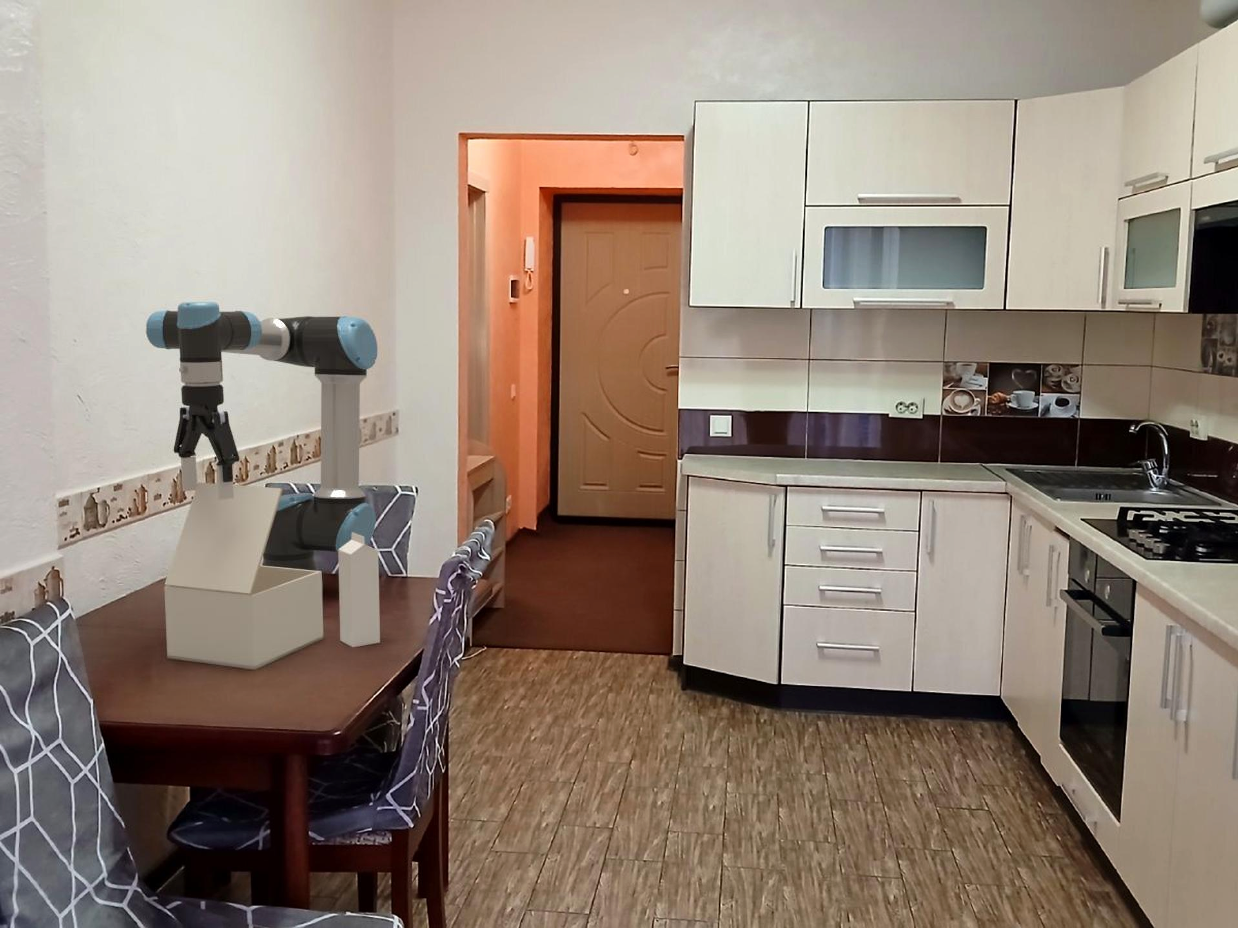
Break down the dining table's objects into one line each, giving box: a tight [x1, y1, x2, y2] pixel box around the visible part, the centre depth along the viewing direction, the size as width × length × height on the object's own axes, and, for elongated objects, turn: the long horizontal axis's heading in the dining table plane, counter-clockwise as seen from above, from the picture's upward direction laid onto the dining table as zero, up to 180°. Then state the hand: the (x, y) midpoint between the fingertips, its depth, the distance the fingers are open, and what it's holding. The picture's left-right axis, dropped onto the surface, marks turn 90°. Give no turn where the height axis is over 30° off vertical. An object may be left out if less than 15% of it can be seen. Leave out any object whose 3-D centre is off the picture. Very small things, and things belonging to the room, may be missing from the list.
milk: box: [337, 532, 381, 648], centre depth 233 cm, size 6×6×22 cm
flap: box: [164, 482, 284, 594], centre depth 221 cm, size 21×19×1 cm
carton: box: [164, 564, 324, 671], centre depth 228 cm, size 22×20×14 cm
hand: (207, 494), depth 224 cm, fingers open, 13 cm apart
